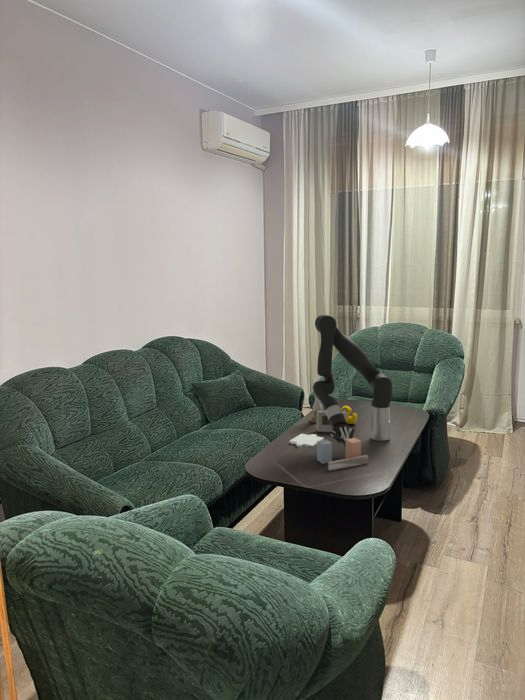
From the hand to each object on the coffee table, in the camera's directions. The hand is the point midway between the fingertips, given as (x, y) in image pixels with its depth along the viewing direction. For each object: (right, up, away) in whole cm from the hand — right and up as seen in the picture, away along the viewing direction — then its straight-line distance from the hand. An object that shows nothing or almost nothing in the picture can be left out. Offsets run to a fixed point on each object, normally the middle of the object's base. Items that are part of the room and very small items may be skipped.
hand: (349, 449), depth 249 cm
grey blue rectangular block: (-12, -5, -4) cm, 13 cm away
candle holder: (-9, +5, +57) cm, 58 cm away
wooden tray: (-5, -5, -5) cm, 8 cm away
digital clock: (-3, +2, +40) cm, 40 cm away
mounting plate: (-18, -1, +23) cm, 29 cm away
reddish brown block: (+1, -4, -2) cm, 5 cm away
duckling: (+7, +5, +52) cm, 53 cm away
